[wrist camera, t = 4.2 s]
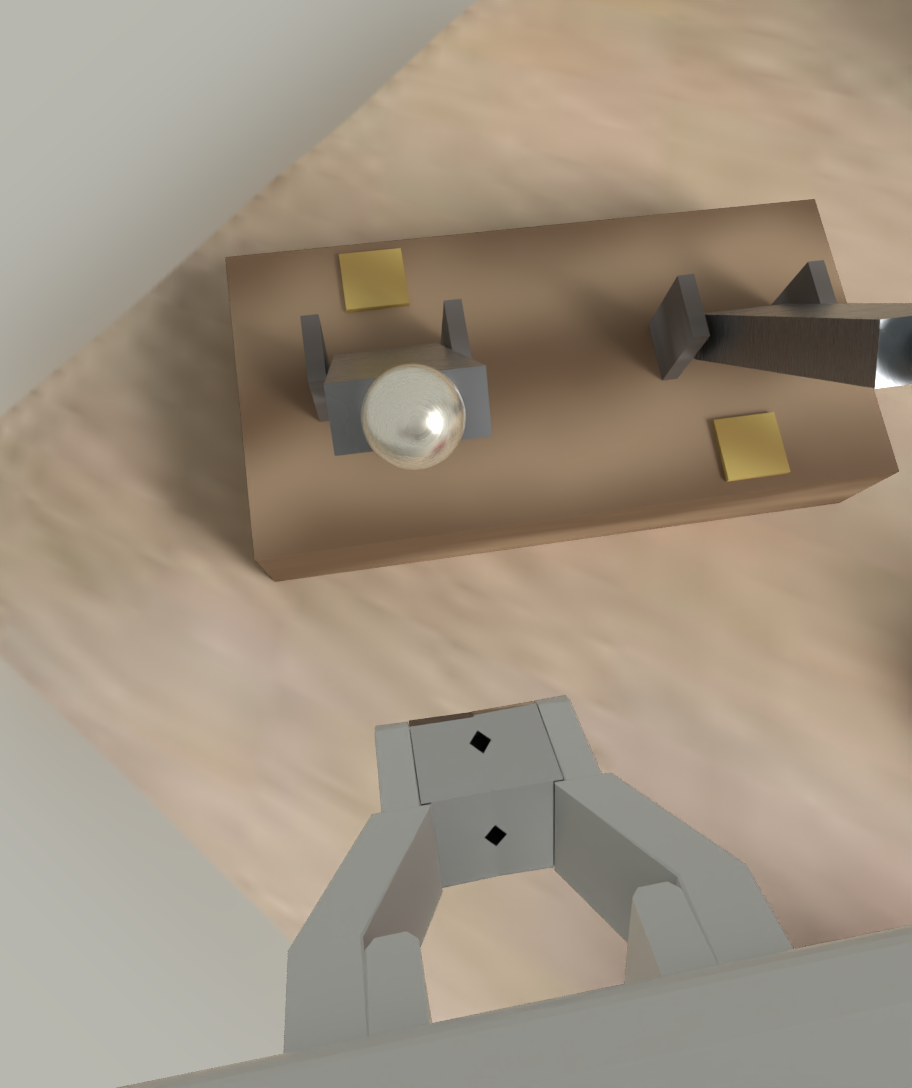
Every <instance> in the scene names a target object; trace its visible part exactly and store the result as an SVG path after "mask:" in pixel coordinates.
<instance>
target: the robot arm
mask: <svg viewBox="0 0 912 1088" xmlns="http://www.w3.org/2000/svg"><path fill="white" fill-rule="evenodd" d="M409 727H410V730H409ZM410 735H411V737H410ZM411 742H412V744H411ZM375 744H376V755H377V767H378V778H379V790H380V801H381V813H377V814H372V815H371V816H370V818H369V820H368V821H367V823H366V825H365V826H364V828H363V830H362V831H361V833H360V834H359V836H358V838H357V839H356V841H355V843H354V844H353V846H352V847H351V849H350V851H349V852H348V854H347V856H346V857H345V859H344V860H343V862H342V864H341V865H340V867H339V869H338V870H337V872H336V874H335V875H334V877H333V878H332V880H331V882H330V883H329V885H328V887H327V888H326V890H325V891H324V893H323V895H322V896H321V898H320V900H319V901H318V903H317V904H316V906H315V908H314V909H313V911H312V913H311V914H310V916H309V918H308V919H307V921H306V922H305V924H304V926H303V927H302V929H301V931H300V932H299V934H298V935H297V937H296V939H295V940H294V942H293V944H292V945H291V947H290V948H289V950H288V963H287V985H286V1008H285V1031H284V1054H279V1055H274V1056H270V1057H265V1058H260V1059H255V1060H250V1061H245V1062H240V1063H235V1064H231V1065H226V1066H221V1067H216V1068H211V1069H207V1070H201V1071H197V1072H191V1073H187V1074H182V1075H177V1076H173V1077H167V1078H163V1079H157V1080H152V1081H147V1082H143V1083H138V1084H133V1085H128V1086H123V1087H118V1088H912V925H908V926H903V927H898V928H893V929H889V930H884V931H879V932H874V933H869V934H864V935H859V936H854V937H850V938H845V939H840V940H835V941H830V942H825V943H820V944H815V945H810V946H806V947H801V948H796V949H793V947H792V945H791V943H790V942H789V940H788V938H787V936H786V934H785V933H784V931H783V929H782V927H781V926H780V924H779V922H778V920H777V918H776V917H775V915H774V913H773V911H772V910H771V908H770V906H769V904H768V902H767V901H766V899H765V897H764V895H763V894H762V892H761V890H760V888H759V886H758V885H757V883H756V881H755V879H754V878H753V876H752V874H751V872H750V870H749V869H748V867H747V865H746V864H745V863H743V862H742V861H740V860H739V859H737V858H736V857H734V856H733V855H731V854H730V853H729V852H727V851H726V850H724V849H723V848H721V847H720V846H718V845H717V844H715V843H714V842H712V841H711V840H709V839H708V838H707V837H705V836H704V835H702V834H701V833H699V832H698V831H696V830H695V829H693V828H692V827H690V826H689V825H687V824H686V823H684V822H683V821H682V820H680V819H679V818H677V817H676V816H674V815H673V814H671V813H670V812H668V811H667V810H665V809H664V808H662V807H661V806H660V805H658V804H657V803H655V802H654V801H652V800H651V799H649V798H648V797H646V796H645V795H643V794H642V793H640V792H639V791H638V790H636V789H635V788H633V787H632V786H630V785H629V784H627V783H626V782H624V781H623V780H621V779H620V778H618V777H617V776H616V775H614V774H613V773H606V774H602V773H601V771H600V769H599V766H598V764H597V762H596V759H595V757H594V755H593V752H592V750H591V748H590V745H589V743H588V741H587V738H586V736H585V734H584V731H583V729H582V727H581V724H580V722H579V720H578V717H577V715H576V713H575V710H574V708H573V706H572V703H571V701H570V699H569V698H568V697H567V696H566V695H564V696H558V697H552V698H546V699H541V700H535V701H534V702H533V701H530V702H524V703H519V704H513V705H507V706H501V707H496V708H490V709H484V710H478V711H472V712H468V713H461V714H454V715H447V716H439V717H432V718H425V719H418V720H411V721H409V725H408V722H402V723H394V724H387V725H379V726H375ZM412 750H413V751H412ZM552 867H555V871H556V872H557V873H558V874H559V875H560V876H561V877H562V878H563V879H564V880H565V881H566V882H567V883H568V884H569V885H570V886H571V887H572V888H573V889H574V890H575V891H576V892H577V893H578V894H579V895H580V896H581V897H582V898H583V899H584V900H585V901H586V902H587V903H588V904H589V905H590V906H591V907H592V908H593V909H594V910H595V911H596V912H597V913H598V914H599V915H600V916H601V917H602V918H603V919H604V920H605V921H606V922H607V923H608V924H609V925H610V926H611V927H612V928H613V929H614V930H615V931H616V932H617V933H618V934H619V935H620V936H621V937H622V938H623V939H624V940H625V941H626V942H627V943H628V948H627V958H626V968H625V978H624V984H621V985H616V986H611V987H606V988H601V989H597V990H592V991H587V992H582V993H577V994H572V995H567V996H562V997H558V998H553V999H548V1000H543V1001H538V1002H533V1003H528V1004H523V1005H519V1006H514V1007H509V1008H504V1009H499V1010H494V1011H489V1012H484V1013H480V1014H475V1015H470V1016H465V1017H460V1018H455V1019H450V1020H445V1021H440V1022H436V1023H432V1019H431V1012H430V1006H429V999H428V993H427V987H426V980H425V974H424V968H423V961H422V955H421V949H420V947H421V945H422V942H423V940H424V937H425V935H426V932H427V930H428V927H429V925H430V922H431V920H432V917H433V915H434V912H435V910H436V907H437V905H438V902H439V900H440V897H441V895H442V892H443V891H442V888H445V887H449V886H454V885H459V884H463V883H468V882H472V881H477V880H482V879H486V878H491V877H496V876H501V875H508V874H514V873H520V872H527V871H533V870H539V869H546V868H552Z"/></svg>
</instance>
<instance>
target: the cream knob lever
mask: <svg viewBox="0 0 912 1088" xmlns="http://www.w3.org/2000/svg"><path fill="white" fill-rule="evenodd" d="M324 390H325V397H326V403H327V410H328V416H329V423H330V429H331V435H332V442H333V448H334V455H335V456H340V455H348V454H356V453H364V452H372V451H374V452H375V453H376V454H377V455H378V456H379V457H380V458H381V459H382V460H384V461H386V462H387V463H389V464H391V465H393V466H396V467H399V468H403V469H408V470H420V469H425V468H429V467H432V466H434V465H436V464H439V463H440V462H442V461H443V460H445V459H446V458H447V457H448V456H449V455H450V454H451V453H452V452H453V451H454V450H455V448H456V447H457V445H458V444H459V442H460V440H468V439H476V438H484V437H492V430H491V418H490V407H489V395H488V383H487V372H486V365H484V364H482V363H480V362H478V361H475V360H473V359H471V358H469V357H467V356H465V355H462V354H460V353H458V352H456V351H454V350H452V349H449V348H447V347H445V346H443V345H441V344H438V343H433V344H424V345H415V346H406V347H397V348H388V349H380V350H371V351H362V352H353V353H344V354H335V355H334V357H333V359H332V362H331V365H330V368H329V370H328V373H327V376H326V379H325V381H324Z"/></svg>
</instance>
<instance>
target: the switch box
mask: <svg viewBox="0 0 912 1088" xmlns="http://www.w3.org/2000/svg"><path fill="white" fill-rule="evenodd" d="M225 258H226V268H227V279H228V289H229V300H230V310H231V320H232V331H233V341H234V352H235V362H236V373H237V383H238V394H239V404H240V415H241V425H242V435H243V446H244V456H245V467H246V477H247V488H248V498H249V509H250V519H251V529H252V540H253V550H254V560H255V561H256V562H257V563H258V564H259V565H260V566H261V567H262V568H263V569H264V570H265V572H266V573H267V574H268V575H269V576H270V577H271V578H272V579H273V580H274V581H275V582H276V581H283V580H291V579H298V578H305V577H312V576H319V575H326V574H333V573H341V572H348V571H355V570H362V569H369V568H376V567H383V566H391V565H398V564H405V563H412V562H419V561H426V560H433V559H441V558H448V557H455V556H462V555H469V554H476V553H483V552H491V551H498V550H505V549H512V548H519V547H526V546H533V545H541V544H548V543H555V542H562V541H569V540H576V539H583V538H591V537H598V536H605V535H612V534H619V533H626V532H633V531H641V530H648V529H655V528H662V527H669V526H676V525H683V524H691V523H698V522H705V521H712V520H719V519H726V518H733V517H741V516H748V515H755V514H762V513H769V512H776V511H783V510H791V509H798V508H805V507H812V506H819V505H826V504H833V503H840V502H842V501H844V500H846V499H847V498H849V497H851V496H853V495H855V494H857V493H859V492H861V491H863V490H865V489H867V488H868V487H870V486H872V485H874V484H876V483H878V482H880V481H882V480H884V479H886V478H888V477H889V476H891V475H893V474H895V473H897V472H899V469H898V466H897V463H896V460H895V456H894V453H893V450H892V447H891V444H890V440H889V437H888V434H887V431H886V427H885V424H884V421H883V418H882V415H881V411H880V408H879V405H878V402H877V398H876V395H875V392H874V389H873V388H869V387H862V386H856V385H850V384H844V383H838V382H831V381H825V380H819V379H813V378H807V377H800V376H794V375H788V374H782V373H776V372H770V371H763V370H757V369H751V368H745V367H739V366H732V365H726V364H720V363H714V362H708V361H701V360H695V359H694V356H695V355H696V354H697V352H698V351H699V350H700V348H701V347H702V346H703V344H704V343H705V342H706V341H707V339H708V338H709V337H710V333H709V329H708V325H707V322H706V318H705V314H704V313H709V312H717V311H726V310H735V309H744V308H753V307H762V306H771V305H780V304H822V303H847V302H846V299H845V296H844V292H843V289H842V286H841V283H840V279H839V276H838V273H837V270H836V267H835V263H834V260H833V257H832V254H831V250H830V247H829V244H828V241H827V238H826V234H825V231H824V228H823V225H822V222H821V218H820V215H819V212H818V209H817V205H816V202H815V199H810V200H800V201H790V202H780V203H770V204H760V205H750V206H740V207H729V208H719V209H709V210H699V211H689V212H679V213H669V214H659V215H648V216H638V217H628V218H618V219H608V220H598V221H588V222H578V223H567V224H557V225H547V226H537V227H527V228H517V229H507V230H496V231H486V232H476V233H466V234H456V235H446V236H436V237H426V238H415V239H405V240H395V241H385V242H375V243H365V244H355V245H345V246H334V247H324V248H314V249H304V250H294V251H284V252H274V253H263V254H253V255H243V256H233V257H225ZM433 343H438V344H441V345H443V346H445V347H447V348H449V349H452V350H454V351H456V352H458V353H460V354H462V355H465V356H467V357H469V358H471V359H473V360H475V361H478V362H480V363H482V364H484V365H486V372H487V383H488V395H489V407H490V418H491V430H492V437H484V438H476V439H468V440H460V442H459V444H458V445H457V447H456V448H455V450H454V451H453V452H452V453H451V454H450V455H449V456H448V457H447V458H446V459H445V460H443V461H442V462H440V463H439V464H436V465H434V466H432V467H429V468H425V469H420V470H408V469H403V468H399V467H396V466H393V465H391V464H389V463H387V462H386V461H384V460H382V459H381V458H380V457H379V456H378V455H377V454H376V453H375V452H374V451H372V452H364V453H356V454H348V455H340V456H335V455H334V448H333V442H332V435H331V429H330V423H329V416H328V410H327V403H326V397H325V390H324V381H325V379H326V376H327V373H328V370H329V368H330V365H331V362H332V359H333V357H334V355H335V354H344V353H353V352H362V351H371V350H380V349H388V348H397V347H406V346H415V345H424V344H433Z"/></svg>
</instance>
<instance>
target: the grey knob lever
mask: <svg viewBox="0 0 912 1088" xmlns="http://www.w3.org/2000/svg"><path fill="white" fill-rule="evenodd" d="M704 314H705V318H706V322H707V325H708V329H709V333H710V337H709V338H708V339H707V341H706V342H705V343H704V344H703V346H702V347H701V348H700V350H699V351H698V352H697V354H696V355H695V356H694V359H695V360H701V361H708V362H714V363H720V364H726V365H732V366H739V367H745V368H751V369H757V370H763V371H770V372H776V373H782V374H788V375H794V376H800V377H807V378H813V379H819V380H825V381H831V382H838V383H844V384H850V385H856V386H862V387H869V388H883V387H891V386H899V385H907V384H912V303H822V304H780V305H771V306H762V307H753V308H744V309H735V310H726V311H717V312H709V313H704Z"/></svg>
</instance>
